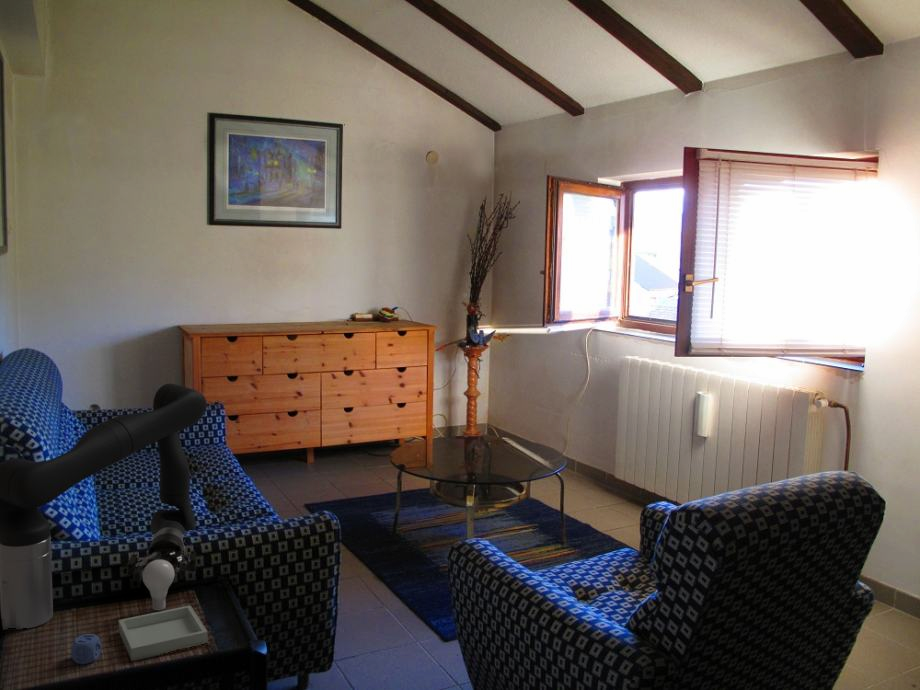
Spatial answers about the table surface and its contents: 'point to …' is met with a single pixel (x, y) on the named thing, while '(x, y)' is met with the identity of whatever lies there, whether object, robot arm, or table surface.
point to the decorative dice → (86, 648)
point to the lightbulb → (158, 581)
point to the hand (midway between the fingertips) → (159, 576)
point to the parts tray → (161, 632)
